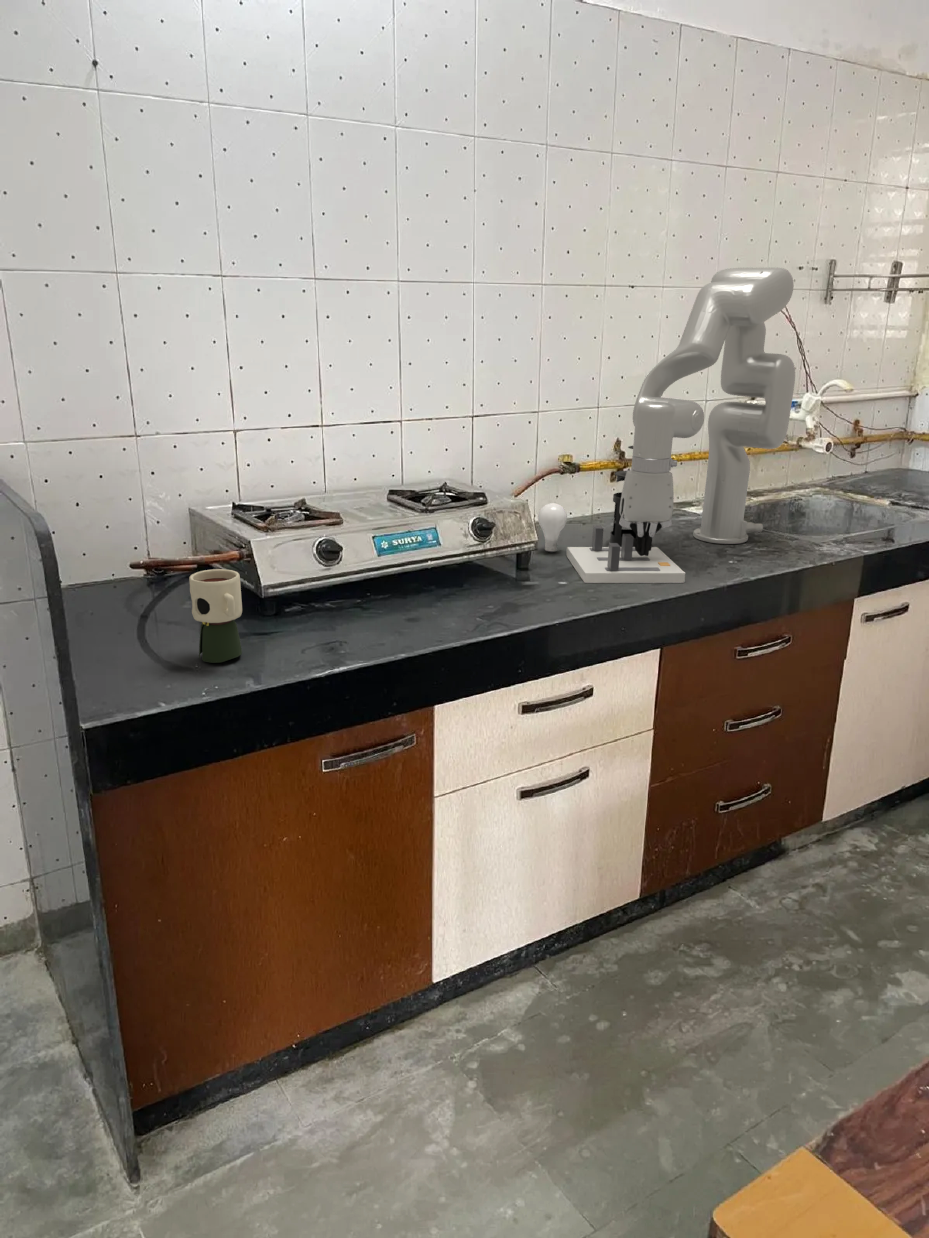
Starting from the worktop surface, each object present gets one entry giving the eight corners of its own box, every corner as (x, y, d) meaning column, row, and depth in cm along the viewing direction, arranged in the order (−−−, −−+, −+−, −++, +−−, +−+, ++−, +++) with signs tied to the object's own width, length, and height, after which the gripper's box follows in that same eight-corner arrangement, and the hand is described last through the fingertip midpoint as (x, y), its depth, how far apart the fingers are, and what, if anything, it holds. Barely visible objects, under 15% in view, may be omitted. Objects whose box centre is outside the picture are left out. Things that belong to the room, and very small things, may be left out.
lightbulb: (563, 557, 188) (566, 507, 185) (534, 555, 190) (536, 505, 186) (566, 549, 194) (569, 501, 191) (538, 547, 196) (540, 499, 192)
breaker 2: (615, 566, 174) (617, 543, 172) (618, 570, 171) (620, 546, 170) (607, 566, 174) (609, 543, 172) (610, 570, 171) (612, 546, 170)
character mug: (183, 652, 132) (175, 570, 128) (227, 642, 136) (221, 563, 132) (214, 675, 124) (206, 589, 120) (259, 664, 129) (254, 580, 124)
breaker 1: (599, 547, 188) (600, 525, 186) (601, 550, 185) (603, 528, 184) (591, 547, 188) (593, 525, 186) (594, 550, 185) (596, 528, 184)
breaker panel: (656, 556, 191) (657, 546, 190) (684, 582, 172) (685, 572, 171) (566, 555, 189) (567, 546, 189) (584, 583, 171) (585, 572, 170)
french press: (630, 556, 190) (639, 450, 182) (597, 547, 197) (605, 445, 189) (663, 548, 197) (673, 446, 190) (631, 539, 204) (639, 441, 196)
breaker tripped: (628, 556, 181) (630, 533, 180) (631, 559, 179) (633, 537, 177) (620, 556, 181) (622, 533, 180) (624, 559, 179) (625, 537, 177)
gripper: (681, 462, 178) (672, 549, 184) (609, 462, 177) (602, 549, 183) (693, 469, 171) (683, 559, 177) (618, 468, 170) (611, 559, 176)
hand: (642, 554), depth 180 cm, fingers closed
